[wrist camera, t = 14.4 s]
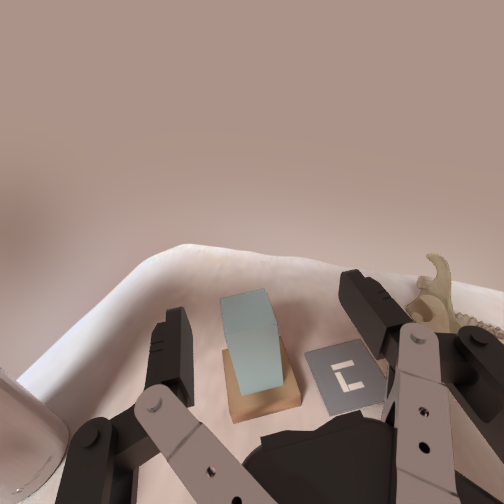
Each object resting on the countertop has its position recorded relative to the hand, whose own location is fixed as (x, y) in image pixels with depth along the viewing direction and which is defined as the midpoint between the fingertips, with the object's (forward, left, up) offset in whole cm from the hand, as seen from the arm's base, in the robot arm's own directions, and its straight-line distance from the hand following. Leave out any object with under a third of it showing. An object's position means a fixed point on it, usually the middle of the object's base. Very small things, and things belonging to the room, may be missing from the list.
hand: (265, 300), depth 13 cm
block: (-8, +7, -24) cm, 27 cm away
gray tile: (+2, +15, -27) cm, 31 cm away
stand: (-8, +8, -27) cm, 30 cm away
